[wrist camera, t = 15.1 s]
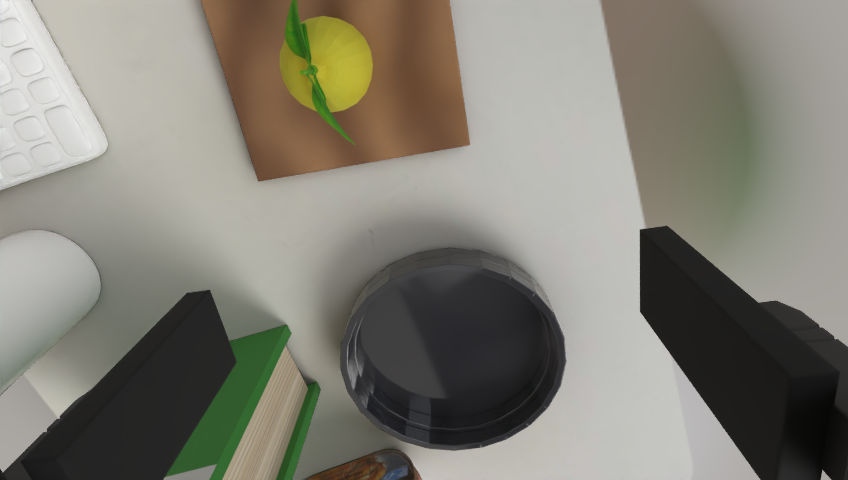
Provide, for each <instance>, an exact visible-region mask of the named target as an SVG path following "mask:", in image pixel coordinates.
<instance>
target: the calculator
mask: <svg viewBox="0 0 848 480" xmlns="http://www.w3.org/2000/svg"><path fill="white" fill-rule="evenodd" d="M107 146H108V142H107V139H106V136H105V134H104V132H103V130H102V128H101V126H100V124H99V123H98V121H97V119H96V117H95V115H94V113H93V112H92V110H91V108H90V106H89V104H88V103H87V101H86V99H85V97H84V95H83V94H82V92H81V90H80V88H79V86H78V85H77V83H76V81H75V79H74V77H73V76H72V74H71V72H70V70H69V68H68V67H67V65H66V63H65V61H64V60H63V58H62V56H61V54H60V52H59V51H58V49H57V47H56V45H55V43H54V42H53V40H52V38H51V36H50V34H49V33H48V31H47V29H46V27H45V25H44V24H43V22H42V20H41V18H40V16H39V15H38V13H37V11H36V9H35V7H34V6H33V4H32V2H31V0H0V190H3V189H6V188H9V187H12V186H15V185H18V184H21V183H24V182H27V181H30V180H33V179H36V178H39V177H42V176H45V175H48V174H51V173H53V172H56V171H59V170H62V169H65V168H68V167H71V166H74V165H77V164H80V163H83V162H86V161H89V160H92V159H94V158H96V157H98V156H100V155H102V154H103V153H104V152H105V151H106V150H107Z"/></svg>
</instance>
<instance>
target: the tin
mask: <svg viewBox="0 0 848 480" xmlns="http://www.w3.org/2000/svg"><path fill="white" fill-rule="evenodd" d="M307 480H422V479H421V477H420V475H419V473H418V471H417V470H416V469H415V467H414V465H413V463H412V461H411V460H410V458H409V457H408V456H407V455H406V454H404V453H403V452H401V451H398V450H391V449H389V450H382V451H378V452H375V453H373V454H370V455H367V456H365V457H362V458H359V459H357V460H354V461H351V462H349V463H346V464H343V465H341V466H338V467H335V468H332V469H330V470H327V471H324V472H322V473H319V474H316V475H314V476H312V477H310V478H308V479H307Z"/></svg>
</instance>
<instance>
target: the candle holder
mask: <svg viewBox="0 0 848 480" xmlns="http://www.w3.org/2000/svg"><path fill="white" fill-rule="evenodd" d="M100 291H101V281H100V276H99V273H98V270H97V268H96V266H95V264H94V262H93V261H92V259H91V258H90V257H89V256H88V254H87V253H86V252H85V251H84V250H83V249H82V248H81V247H79V246H78V245H77V244H76V243H74V242H73V241H71V240H69V239H68V238H66V237H64V236H62V235H59V234H57V233H53V232H50V231H45V230H27V231H22V232H18V233H15V234H12V235H10V236H7V237H4V238H2V239H0V395H1V394H2V393H3V392H4V391H5V390H7V389H8V388H9V387H10V386H11V385H12V384H13V383H14V382H15V381H16V380H17V379H18V378H19V377H20V376H21V375H23V374H24V373H25V372H26V371H27V370H28V369H29V368H30V367H31V366H32V365H33V364H34V363H35V362H36V361H37V360H39V359H40V358H41V357H42V356H43V355H44V354H45V353H46V352H47V351H48V350H49V349H50V348H51V347H52V346H53V345H55V344H56V343H57V342H58V341H59V340H60V339H61V338H62V337H63V336H64V335H65V334H66V333H67V332H68V331H69V330H70V329H72V328H73V327H74V326H75V325H76V324H77V323H78V322H79V321H80V320H81V319H82V318H83V317H84V316H85V315H86V314H87V313H88V312H89V311H90V310H91V309H92V308H93V307H94V305H95V304H96V302H97V300H98V298H99V295H100Z"/></svg>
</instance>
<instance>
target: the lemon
mask: <svg viewBox="0 0 848 480" xmlns="http://www.w3.org/2000/svg"><path fill="white" fill-rule="evenodd" d="M372 69H373V62H372V55H371V50H370V48H369V46H368V44H367V42H366V40H365V38H364V36H363V35H362V34H361V33H360V32H359V31H358V30H357V29H356V28H355V27H354V26H353V25H351V24H349V23H347V22H345V21H343V20H341V19H338V18H332V17H327V16H320V17H315V18H309V19H307V20H305V21H303V22H302V23H301V22H300V18H299V13H298V5H297V0H292V1H291V4H290V8H289V12H288V16H287V20H286V26H285V41H284V43H283V46H282V48H281V50H280V70H281V74H282V78H283V82H284V83H285V85H286V87H287V89H288V90H289V92H290V94H291V95H292V96H293V97H294V98H295V99H297V100H298V101H299V102H300V103H301V104H302V105H304V106H306V107H308V108H310V109H312V110H315V111H317V112H318V113H319V114H320V115H321V117H322V118H323V119H324V120H325V121H326V122H327V123H328V124H330V125H331V126H332V127H333V128H334V129H336V130H337V131H338V132H339V133H340V134H341V135H342V136H344V137H345V138H346V139H347V140H349V141H350V142H352V143H353V144H354V145H355V143H354V142H353V141H352V140H351V139H350V138H349V137H348V135H347V134H346V133H345V132H344V131H343V129H342V128H341V127H340V125H339V124H338V123H337V121H336V120H335V118H334V117H333V115H332V114H331V112H337V111H343V110H345V109H347V108H349V107H351V106H353V105H355V104H356V103H358V101H359V100H360V99H361V98H362V97H363V96H364V95H365V93H366V92H367V89H368V87H369V84H370V82H371V78H372Z"/></svg>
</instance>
